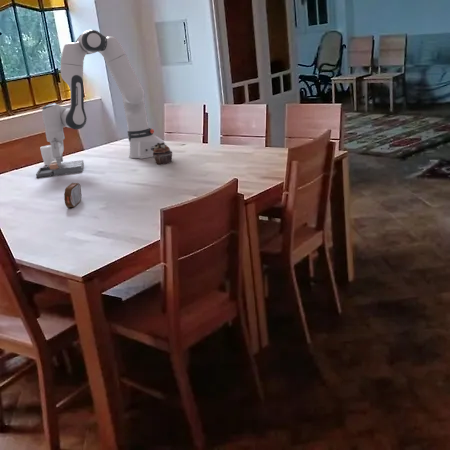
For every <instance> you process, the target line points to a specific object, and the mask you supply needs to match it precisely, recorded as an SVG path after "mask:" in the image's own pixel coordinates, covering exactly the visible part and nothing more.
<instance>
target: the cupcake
mask: <svg viewBox="0 0 450 450" xmlns="http://www.w3.org/2000/svg"><path fill="white" fill-rule="evenodd" d="M170 150H171V148H170V147H169V146H168V145H167V144H166V143H165V144H164V143H157V145H155V146H154V150H153V156H154V157H153V159H154V161H155V164H156V165H160V166H162V165H168V164H170V163H173V162H172V161H173V151H170Z"/></svg>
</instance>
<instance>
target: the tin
mask: <svg viewBox="0 0 450 450" xmlns="http://www.w3.org/2000/svg"><path fill="white" fill-rule="evenodd" d="M81 187H82V186H81V184H80V183H78V182H72V183H70V184H69V185H67V186H66V187H65V189H64V196H63V198H64V204H65V207H66V208H68V209H69V208H76V207H77V205H78V204H79V203H80V202H81V201H82V197H83V196H82V188H81Z"/></svg>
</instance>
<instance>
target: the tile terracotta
mask: <svg viewBox="0 0 450 450" xmlns="http://www.w3.org/2000/svg"><path fill="white" fill-rule="evenodd" d="M48 167H50V169H57V168H59V166H58V165H57V163H54V164H50V165H49V166H48Z"/></svg>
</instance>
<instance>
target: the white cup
mask: <svg viewBox="0 0 450 450" xmlns="http://www.w3.org/2000/svg"><path fill="white" fill-rule="evenodd" d="M39 150H40V153H41V157H42V161H43V164H44V166H45V165H47V166H46V167H49V165H50V164H51V162H52V161H56V158H53V154H52V148H51V144H47V145H43V146H40V149H39Z"/></svg>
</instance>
